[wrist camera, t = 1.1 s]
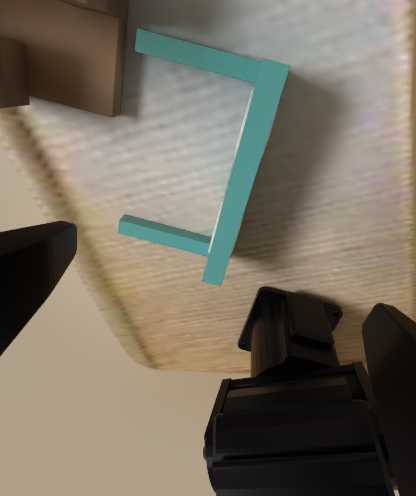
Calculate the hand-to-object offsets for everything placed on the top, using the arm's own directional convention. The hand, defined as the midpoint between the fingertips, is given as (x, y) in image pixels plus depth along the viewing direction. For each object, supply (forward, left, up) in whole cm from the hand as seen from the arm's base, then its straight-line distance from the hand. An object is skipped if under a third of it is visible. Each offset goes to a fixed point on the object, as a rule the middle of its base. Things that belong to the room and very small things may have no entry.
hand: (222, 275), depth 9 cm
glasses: (0, +3, -12) cm, 12 cm away
